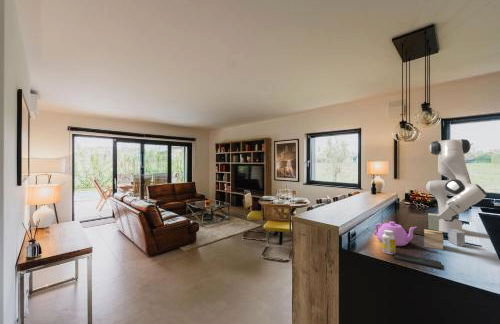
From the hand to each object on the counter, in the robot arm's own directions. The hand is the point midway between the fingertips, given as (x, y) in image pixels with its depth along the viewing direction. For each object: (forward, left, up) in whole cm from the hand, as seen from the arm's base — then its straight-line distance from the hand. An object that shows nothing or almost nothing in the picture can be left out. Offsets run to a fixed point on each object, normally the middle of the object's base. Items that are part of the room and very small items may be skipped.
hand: (434, 219), depth 136 cm
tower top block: (-1, -1, -13) cm, 13 cm away
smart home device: (+33, -7, -18) cm, 38 cm away
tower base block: (-1, -1, -17) cm, 17 cm away
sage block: (0, 0, -6) cm, 6 cm away
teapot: (+8, -20, -17) cm, 28 cm away
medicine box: (-14, +11, -17) cm, 25 cm away
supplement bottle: (+29, -20, -17) cm, 39 cm away
